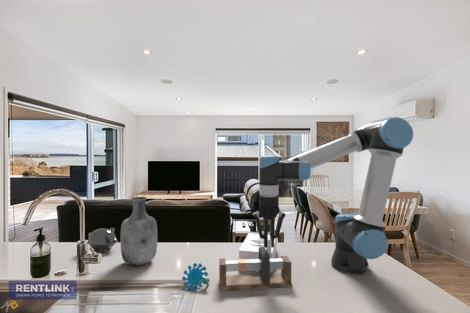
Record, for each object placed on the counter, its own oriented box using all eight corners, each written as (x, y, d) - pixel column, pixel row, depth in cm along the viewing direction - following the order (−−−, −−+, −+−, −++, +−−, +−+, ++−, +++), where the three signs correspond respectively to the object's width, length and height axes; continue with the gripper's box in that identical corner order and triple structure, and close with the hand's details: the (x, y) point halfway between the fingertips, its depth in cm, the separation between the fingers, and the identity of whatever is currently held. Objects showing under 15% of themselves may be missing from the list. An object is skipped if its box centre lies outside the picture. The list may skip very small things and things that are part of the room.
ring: (264, 271, 109) (264, 246, 109) (269, 283, 99) (269, 256, 99) (258, 271, 109) (258, 247, 109) (263, 283, 99) (263, 256, 99)
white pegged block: (238, 270, 116) (238, 245, 116) (248, 249, 140) (248, 228, 140) (272, 273, 113) (272, 247, 112) (276, 251, 137) (276, 230, 137)
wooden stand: (285, 275, 110) (285, 253, 110) (292, 287, 100) (292, 264, 100) (219, 278, 108) (219, 256, 108) (220, 291, 98) (219, 267, 98)
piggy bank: (111, 255, 132) (111, 232, 132) (82, 255, 133) (81, 232, 133) (122, 247, 144) (121, 226, 143) (94, 247, 144) (94, 225, 144)
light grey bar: (284, 265, 107) (284, 257, 107) (287, 269, 103) (287, 260, 103) (222, 268, 105) (222, 260, 104) (222, 272, 101) (222, 263, 101)
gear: (176, 283, 100) (190, 258, 106) (182, 289, 104) (195, 264, 110) (200, 294, 95) (213, 267, 101) (206, 299, 99) (217, 273, 105)
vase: (112, 267, 118) (111, 200, 118) (136, 254, 134) (135, 194, 133) (143, 272, 113) (142, 202, 113) (164, 257, 129) (163, 196, 128)
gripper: (282, 193, 108) (282, 251, 109) (250, 194, 107) (250, 252, 108) (287, 196, 101) (287, 258, 101) (253, 197, 100) (253, 259, 100)
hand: (268, 255), depth 104 cm, fingers closed
